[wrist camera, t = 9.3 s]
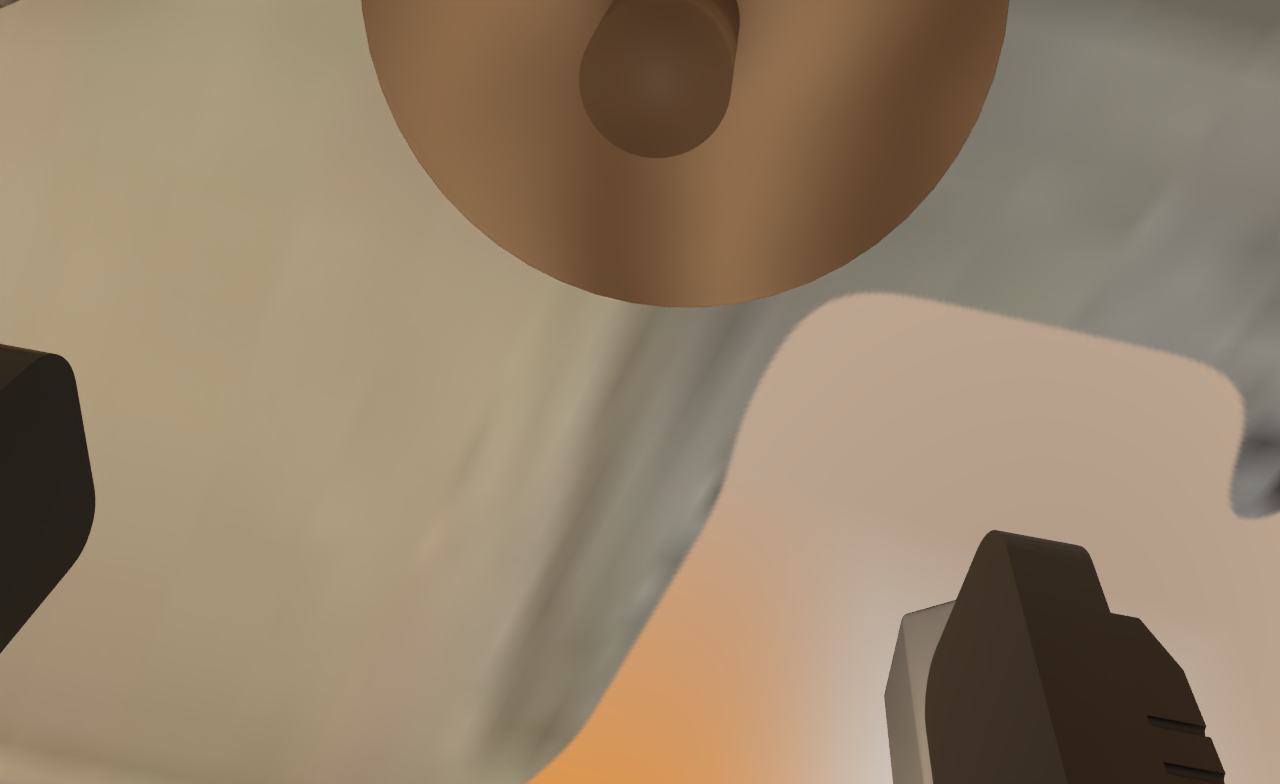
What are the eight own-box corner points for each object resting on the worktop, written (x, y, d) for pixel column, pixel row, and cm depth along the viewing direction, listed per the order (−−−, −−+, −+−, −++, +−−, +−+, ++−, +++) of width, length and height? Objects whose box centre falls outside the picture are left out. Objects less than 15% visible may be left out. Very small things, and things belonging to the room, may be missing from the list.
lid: (1101, -302, 21) (1197, -301, 16) (900, 328, 28) (924, 456, 24) (379, -425, 21) (259, -461, 16) (374, 234, 29) (292, 342, 24)
